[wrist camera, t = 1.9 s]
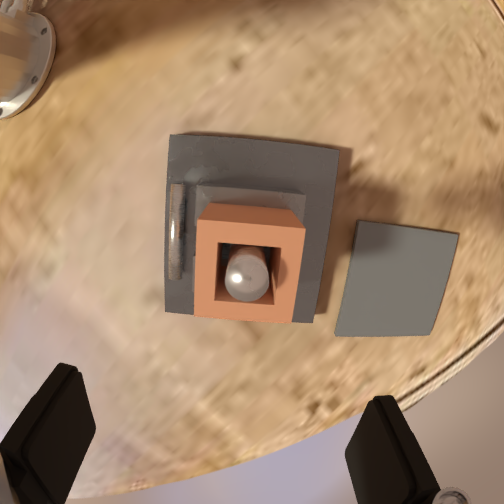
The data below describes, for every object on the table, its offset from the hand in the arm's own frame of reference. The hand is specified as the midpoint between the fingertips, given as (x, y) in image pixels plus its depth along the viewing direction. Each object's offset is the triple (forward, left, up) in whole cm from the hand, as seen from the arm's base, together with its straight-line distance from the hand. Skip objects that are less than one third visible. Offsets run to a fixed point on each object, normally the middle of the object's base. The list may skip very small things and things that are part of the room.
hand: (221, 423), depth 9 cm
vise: (-1, +1, -21) cm, 21 cm away
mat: (+3, +17, -21) cm, 27 cm away
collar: (-1, +1, -16) cm, 16 cm away
